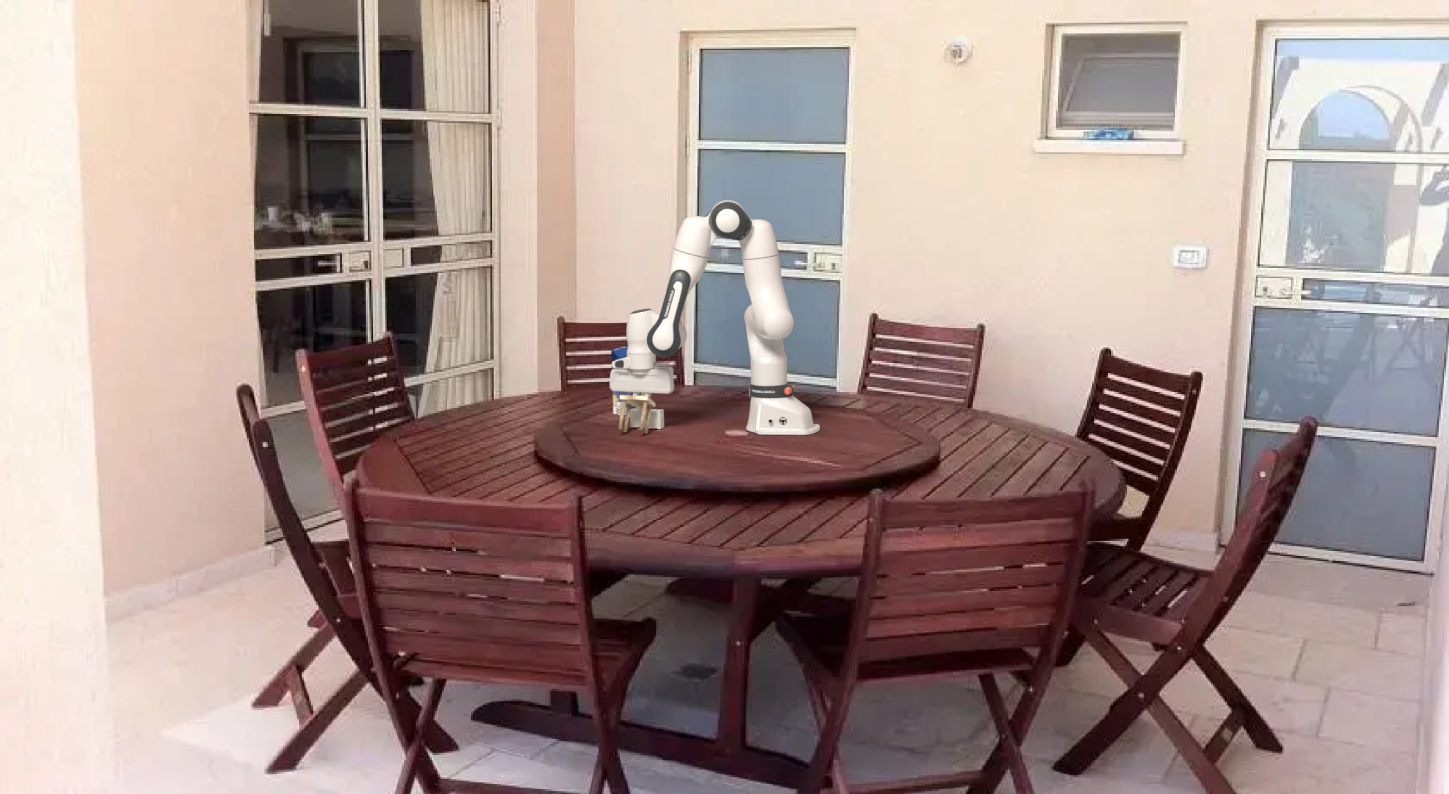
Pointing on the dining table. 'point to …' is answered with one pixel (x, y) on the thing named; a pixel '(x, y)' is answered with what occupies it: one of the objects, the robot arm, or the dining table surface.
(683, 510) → the dining table surface
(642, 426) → the stool
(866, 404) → the dining table surface
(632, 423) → the stone block
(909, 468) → the dining table surface
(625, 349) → the beverage box
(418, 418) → the dining table surface
